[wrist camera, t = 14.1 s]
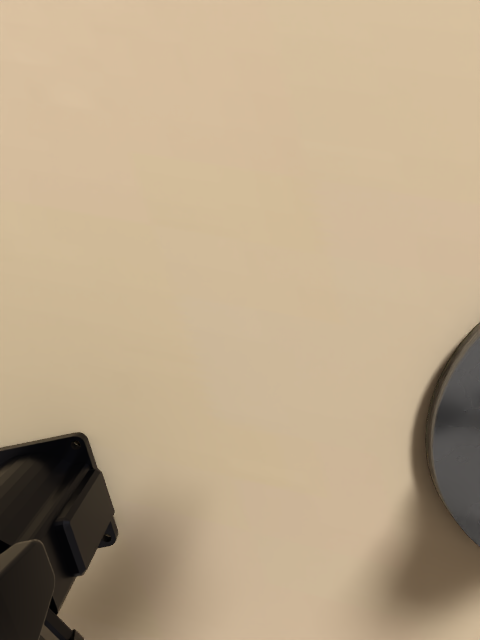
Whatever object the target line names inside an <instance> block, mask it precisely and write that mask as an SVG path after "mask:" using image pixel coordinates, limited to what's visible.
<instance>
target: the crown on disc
mask: <svg viewBox="0 0 480 640" xmlns="http://www.w3.org/2000/svg"><path fill="white" fill-rule="evenodd" d="M425 440H426V454H427V461H428V465H429V470H430V474H431V477H432V480H433V482H434V485H435V488H436V490H437V493H438V494H439V496H440V498H441V499H442V501H443V503H444V505H445V506H446V508H447V509H448V511H449V512H450V514H451V515H452V516H453V518H454V519H455V521H456V522H457V523H458V524H459V526H460V527H461V528H462V529H463V531H464V532H465V533H466V534H467V535H468V536H469V537H470V538H471V539H472V540H473V541H474V542H475V543H476V544H477V545H478V546H479V547H480V323H479V324H478V325H477V326H476V327H475V328H474V329H473V330H472V331H471V332H470V334H469V335H468V336H467V337H466V338H465V339H464V340H463V342H462V343H461V344H460V345H459V347H458V348H457V350H456V351H455V352H454V354H453V355H452V357H451V358H450V360H449V361H448V363H447V365H446V367H445V369H444V371H443V372H442V374H441V376H440V378H439V380H438V383H437V385H436V388H435V391H434V394H433V396H432V399H431V403H430V407H429V412H428V417H427V424H426V438H425Z"/></svg>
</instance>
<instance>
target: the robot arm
mask: <svg viewBox="0 0 480 640" xmlns="http://www.w3.org/2000/svg"><path fill="white" fill-rule="evenodd" d="M74 441H78V442H79V443H80V444H81V446H77V445H76V444H75V443H74ZM113 515H114V508H113V505H112V502H111V499H110V496H109V493H108V490H107V487H106V483H105V480H104V477H103V474H102V472H101V471H100V470H99V469H98V468H97V465H96V462H95V459H94V456H93V453H92V450H91V447H90V444H89V441H88V438H87V437H86V436H85V435H84V434H83V433H80V432H78V433H71V434H66V435H61V436H57V437H52V438H47V439H42V440H37V441H32V442H27V443H22V444H17V445H12V446H8V447H3V448H0V640H84V638H83V637H82V636H81V635H80V634H79V633H78V632H77V631H76V630H75V629H74V630H71V629H70V628H69V627H68V626H67V625H66V624H65V623H64V622H63V621H62V620H61V619H60V618H59V617H58V616H57V614H58V612H59V610H60V608H61V606H62V604H63V602H64V600H65V598H66V596H67V594H68V592H69V590H70V588H71V586H72V584H73V582H74V580H75V578H76V576H82V575H83V574H84V573H85V572H86V570H87V568H88V566H89V564H90V562H91V560H92V558H93V556H94V554H95V552H96V550H97V548H101V547H107V546H111V545H113V544H114V543H115V541H116V539H117V536H118V530H117V527H116V524H115V520H114V517H113ZM105 534H109V535H110V536H111V537H108V536H106V535H105Z"/></svg>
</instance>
